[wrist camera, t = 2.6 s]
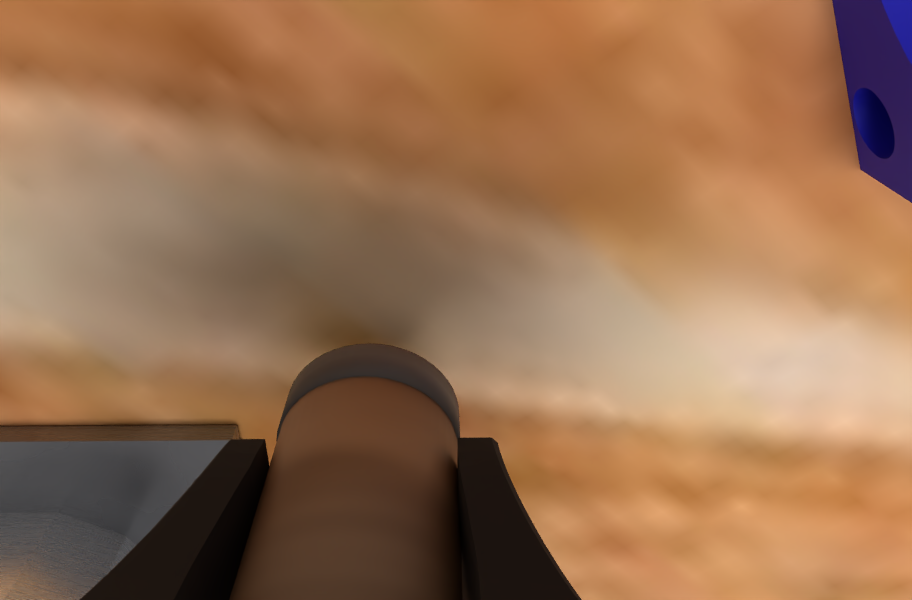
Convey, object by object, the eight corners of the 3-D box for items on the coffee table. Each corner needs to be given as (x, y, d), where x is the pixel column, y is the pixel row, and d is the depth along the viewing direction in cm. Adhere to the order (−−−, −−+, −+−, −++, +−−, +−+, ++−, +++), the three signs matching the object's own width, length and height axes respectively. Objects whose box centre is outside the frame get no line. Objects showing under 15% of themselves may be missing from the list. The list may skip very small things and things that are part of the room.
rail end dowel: (458, 479, 15) (467, 778, 10) (296, 480, 15) (220, 783, 10) (459, 343, 14) (472, 619, 8) (276, 343, 13) (173, 623, 8)
